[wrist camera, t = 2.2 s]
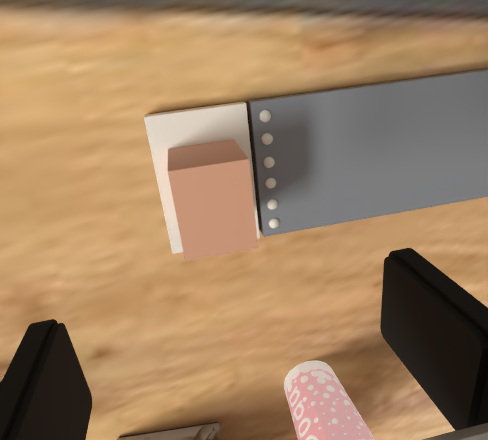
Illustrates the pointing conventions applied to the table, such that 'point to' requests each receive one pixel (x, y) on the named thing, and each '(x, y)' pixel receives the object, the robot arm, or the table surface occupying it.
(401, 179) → the pad
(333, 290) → the table surface
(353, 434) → the beverage cup
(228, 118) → the stub
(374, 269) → the table surface
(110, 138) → the table surface
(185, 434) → the coffee box
